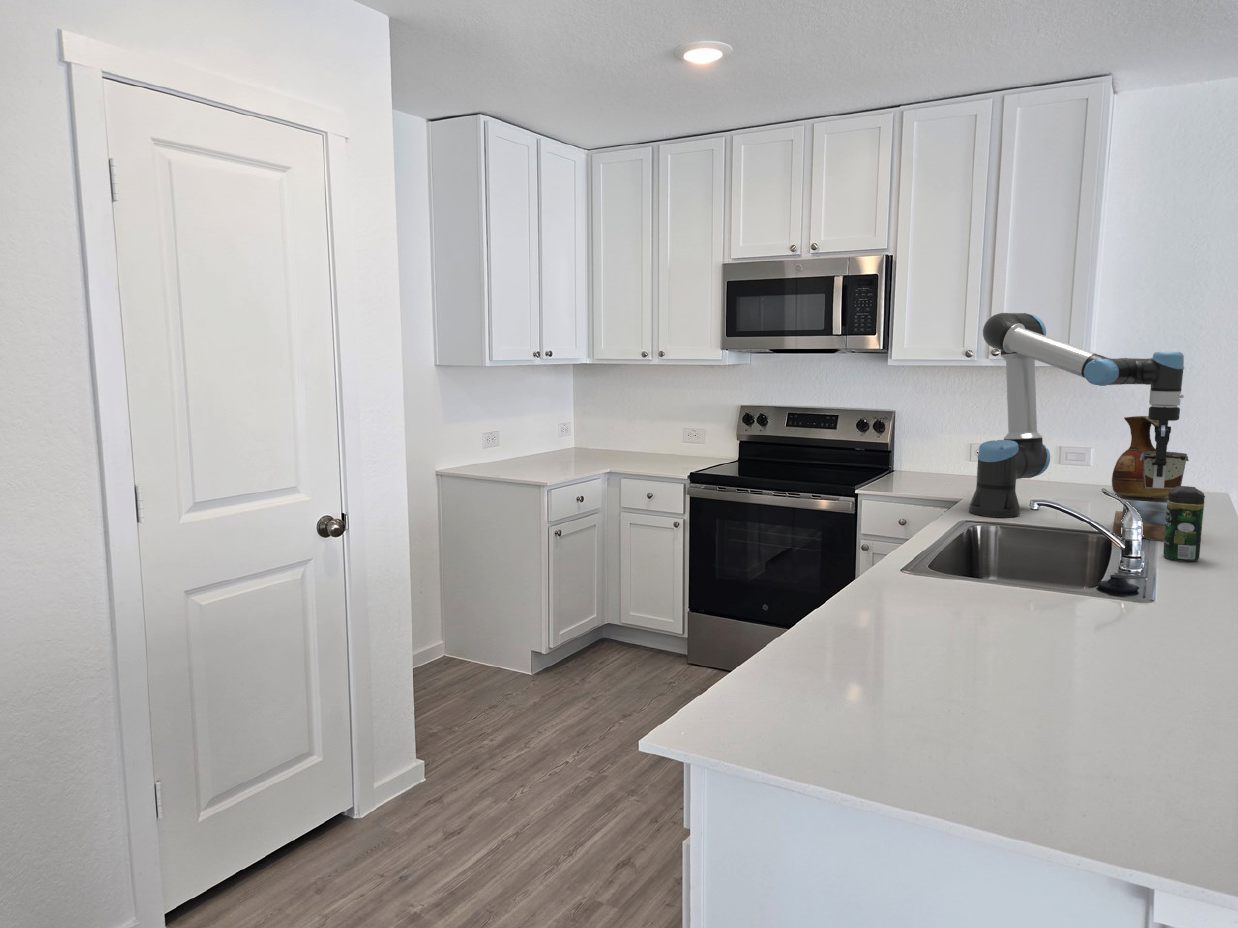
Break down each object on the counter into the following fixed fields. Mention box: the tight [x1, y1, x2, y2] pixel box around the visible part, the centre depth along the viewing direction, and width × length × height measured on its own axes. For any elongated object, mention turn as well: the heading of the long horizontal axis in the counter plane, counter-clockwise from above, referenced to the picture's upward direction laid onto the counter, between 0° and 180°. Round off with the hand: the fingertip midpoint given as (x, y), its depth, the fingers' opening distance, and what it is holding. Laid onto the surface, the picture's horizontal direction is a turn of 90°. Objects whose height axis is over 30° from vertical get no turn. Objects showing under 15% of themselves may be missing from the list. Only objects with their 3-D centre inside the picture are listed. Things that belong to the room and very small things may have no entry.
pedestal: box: [1112, 499, 1167, 542], centre depth 250 cm, size 20×20×8 cm
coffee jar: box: [1162, 485, 1206, 563], centre depth 220 cm, size 10×8×19 cm
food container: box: [1140, 451, 1189, 489], centre depth 248 cm, size 12×6×10 cm, turn 80°
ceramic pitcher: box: [1111, 415, 1170, 498], centre depth 306 cm, size 20×20×30 cm
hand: (1158, 486), depth 248 cm, fingers closed on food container, 6 cm apart
